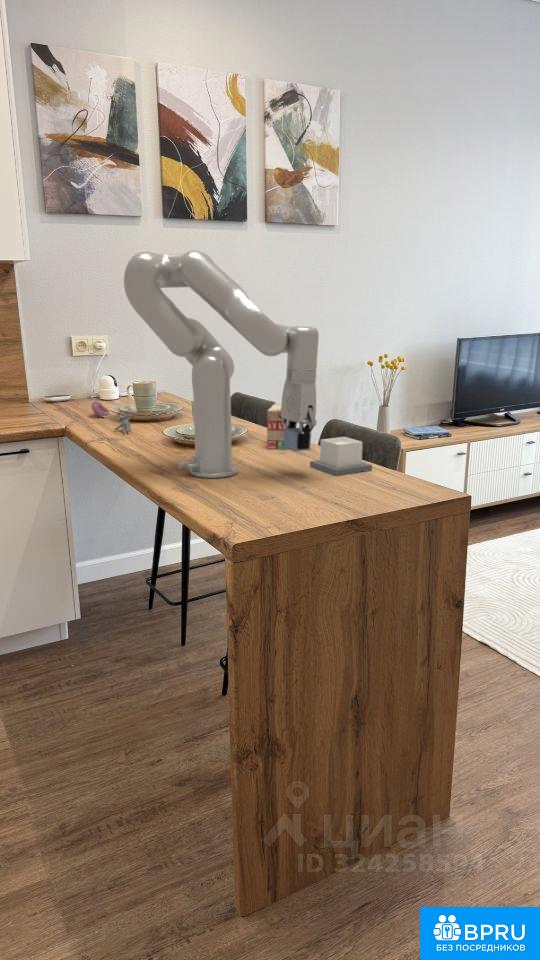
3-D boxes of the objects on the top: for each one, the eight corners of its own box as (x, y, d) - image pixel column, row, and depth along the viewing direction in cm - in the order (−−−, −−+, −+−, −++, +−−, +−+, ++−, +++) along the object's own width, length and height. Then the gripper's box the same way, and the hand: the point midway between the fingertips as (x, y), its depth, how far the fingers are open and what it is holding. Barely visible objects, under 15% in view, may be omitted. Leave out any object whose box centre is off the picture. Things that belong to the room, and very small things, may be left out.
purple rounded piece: (100, 418, 276) (91, 402, 274) (110, 412, 276) (101, 397, 274) (97, 422, 267) (87, 406, 265) (107, 417, 267) (98, 400, 265)
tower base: (335, 475, 182) (336, 447, 180) (309, 466, 192) (310, 439, 190) (371, 470, 188) (373, 442, 186) (345, 461, 198) (345, 434, 196)
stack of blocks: (277, 436, 234) (278, 399, 231) (296, 437, 233) (296, 400, 230) (266, 449, 214) (267, 409, 211) (287, 450, 213) (287, 410, 210)
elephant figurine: (109, 436, 234) (107, 422, 241) (121, 446, 238) (119, 432, 245) (131, 417, 232) (128, 404, 239) (143, 428, 236) (140, 415, 243)
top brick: (293, 451, 179) (295, 432, 177) (283, 447, 183) (284, 428, 181) (310, 449, 181) (311, 431, 180) (299, 446, 185) (300, 427, 184)
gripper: (271, 372, 182) (267, 440, 187) (307, 381, 168) (302, 454, 173) (295, 372, 186) (291, 439, 191) (332, 380, 172) (327, 452, 177)
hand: (297, 445), depth 182 cm, fingers closed on top brick, 4 cm apart
